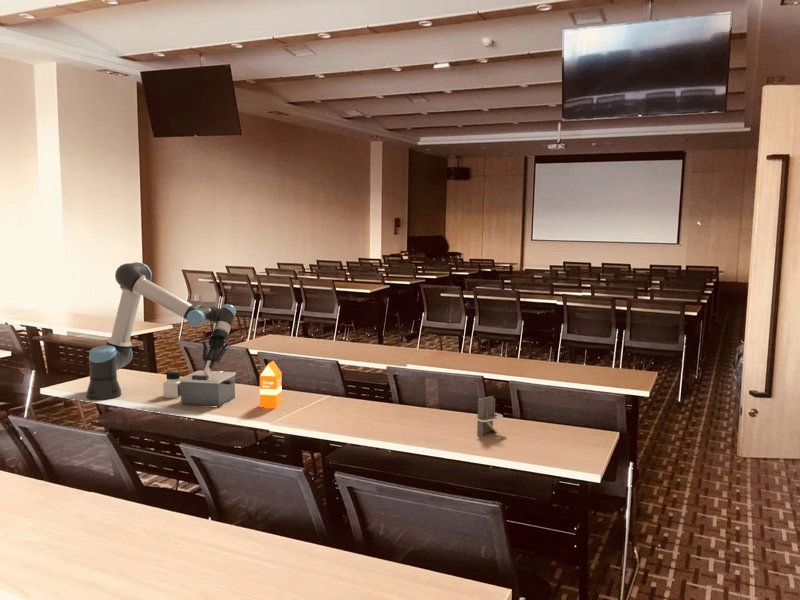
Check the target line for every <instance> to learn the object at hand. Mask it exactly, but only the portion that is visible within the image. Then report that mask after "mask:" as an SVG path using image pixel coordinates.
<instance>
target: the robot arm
mask: <svg viewBox="0 0 800 600" xmlns="http://www.w3.org/2000/svg"><path fill="white" fill-rule="evenodd" d="M114 275H115V281H116V283H117V284H118V285H120V286H119V288H120V290H121V296H120V300H119V304H118V308H117V312H116V317H115V321H114V324H113V328H112V333H111V337H109V338H108V339H107V340H106V343H105V345H100V346H95V347H93V348H91V349H90V350H89V353H88V354H89V355H88V361H89V365H88V367H89V384H88V386H87V390H86V399H87V400H93V401H94V400H95V401H96V400H97V401H98V400H99V401H100V400H101V401H103V400H111V399H115V397H116V398H118V396H119V397H121V396H122V388H121V387H120V383H119V381H118V376H117V375H118V373H117V372H118V371H117V370H119V369H121V368H124V367H126V366H127V365H128V364H129V363H130V362H131V361H132V359H133V356H134V354H133V350H132V346H133V343H132V341H131V335H132V332H133V329H134V323H135V321H136V316H137V311H138V308H139V304H140V301H141V300H140V299H141V297H142V296H143V297H144V298H146V299H148V300H150V301H152V302H153V303H155V304H157V305H159V306H161V307H162V308H164V309H166V310H169V311H170V312H172V313H173V314H175V315H176V316H179V317H180V318H182V319H184V320H186V321H187V323H188V324H189V325H191V326H193V327H198V326H201V325H203V324H205V323H206V324H207V323H214V327H213V330H212V333H211V336H210V339H208V342H203V343H202V346H203V351H202V360H203V362H204V365H203V368H204V369H203V371H204V372H203V373H204V374H205V375H209V372H210V371H212V369H213V368H214V366H215V364H216V363H219V362H220V361H221V360H222V358H223V356H224V355H225V353H226V352H227V351H228V350H229V349H230V345H229V343H227V340H228V338H229V335H230V331H231V329H232V326H233V323H234V320H235V318H236V313H237V309H236V307H234V305H232V304H229V303H227V304H223V305H222V306H221V308H220V307H214V306H213V307H212V306H206V305H199V304H197V305H194V304H193V303H190V302H188V301H186V300H185V299H182V298H181V297H179V296H177V295H176V294H175V293H172V292H170V291H169V290H167V289H165V288H164V287H161V286H160V285H158V284H156V283H154V282H152V278H153V272H152V270H151V269H150V267H149V266H148V265H147V264H145V263H142V262H131V263H130V262H129V263H123V264H121V265H120V266H118V267H117V269H116V271H115V274H114ZM120 395H121V396H120ZM110 398H111V399H110Z"/></svg>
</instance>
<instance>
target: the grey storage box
mask: <svg viewBox="0 0 800 600" xmlns="http://www.w3.org/2000/svg"><path fill="white" fill-rule="evenodd" d="M233 398H234V399H236V375H234V376H232V377H230V378H228V379H227V380H225V381H223V382H221V383H219V384H216V383H195V382H181V396H180V399H181V400H180V405H181V406H182V407H183V406H185V407H201V406H217V407H216V408H220V407H222V406H223V404H224V403H225V404H227V403H229V402H230V401H232V400H234V399H233ZM231 399H232V400H231ZM229 400H230V401H229ZM228 401H229V402H228ZM226 402H227V403H226ZM225 404H224V405H225ZM221 405H222V406H221ZM219 406H220V407H219Z"/></svg>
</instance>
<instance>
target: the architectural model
mask: <svg viewBox="0 0 800 600" xmlns="http://www.w3.org/2000/svg"><path fill="white" fill-rule="evenodd" d="M503 417H504V416H503V414H501V413H497V412H496V398H494V395H492V396H487V397H482V398H478V399H477V415H475V416H474V419H475V420H477V425H476V426H477V427H476V428H477V429H476V431H477V433H476V435H477V436H480V437H484V434H485V433H490V432H494V433H496V434H497V433H498V431H497V430H496V428H495V427H494V421H498V420H500V419H503Z"/></svg>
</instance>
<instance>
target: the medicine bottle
mask: <svg viewBox="0 0 800 600" xmlns="http://www.w3.org/2000/svg"><path fill="white" fill-rule="evenodd" d="M180 378H181V372H180V371H178V370H169V371H167V372H166V381H165V382H163V384H162V385H163V386H162V388H163V389H162V391H163V398H164V397H166V398H169V399H173V398H174V399H178V398H181V382H179V379H180Z"/></svg>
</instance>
